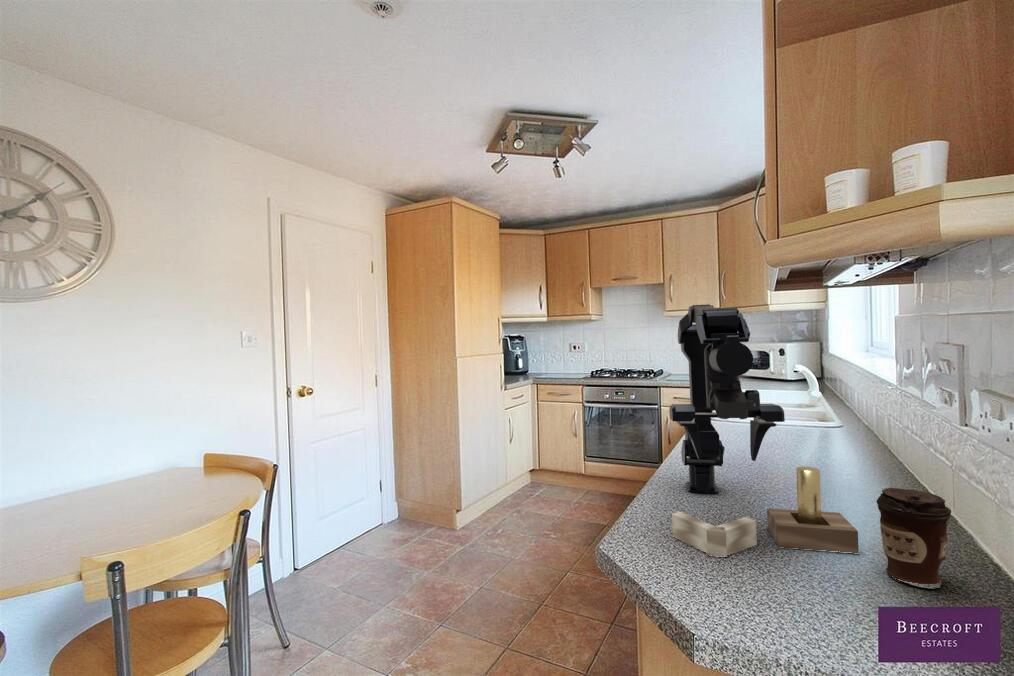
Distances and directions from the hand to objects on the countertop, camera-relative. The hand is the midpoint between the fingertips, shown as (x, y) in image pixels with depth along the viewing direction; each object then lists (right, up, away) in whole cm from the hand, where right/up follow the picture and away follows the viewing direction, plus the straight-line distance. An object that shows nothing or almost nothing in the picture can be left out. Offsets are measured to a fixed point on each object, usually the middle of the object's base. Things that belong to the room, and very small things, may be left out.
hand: (726, 460), depth 87 cm
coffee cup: (+21, -14, -15) cm, 30 cm away
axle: (+14, -14, -2) cm, 20 cm away
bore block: (+14, -14, -2) cm, 20 cm away
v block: (-3, -15, -3) cm, 15 cm away
